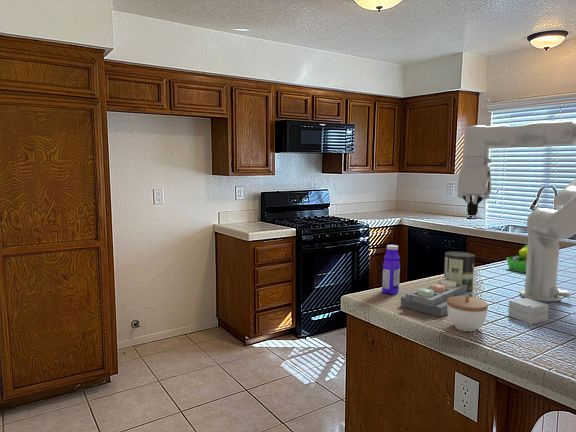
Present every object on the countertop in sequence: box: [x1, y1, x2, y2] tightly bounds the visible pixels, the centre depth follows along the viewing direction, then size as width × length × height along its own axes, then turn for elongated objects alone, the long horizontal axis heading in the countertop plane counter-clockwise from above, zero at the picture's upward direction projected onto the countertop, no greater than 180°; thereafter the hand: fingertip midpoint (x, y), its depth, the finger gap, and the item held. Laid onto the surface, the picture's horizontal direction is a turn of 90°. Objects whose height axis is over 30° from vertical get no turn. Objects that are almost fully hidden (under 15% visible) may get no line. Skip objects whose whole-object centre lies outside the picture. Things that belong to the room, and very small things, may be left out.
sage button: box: [416, 287, 434, 298], centre depth 136 cm, size 5×5×3 cm
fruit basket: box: [505, 244, 528, 273], centre depth 190 cm, size 11×9×11 cm
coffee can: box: [443, 250, 476, 294], centre depth 157 cm, size 10×10×14 cm
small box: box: [507, 297, 550, 325], centre depth 129 cm, size 8×8×5 cm
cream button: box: [440, 279, 456, 288], centre depth 147 cm, size 5×5×3 cm
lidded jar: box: [447, 296, 489, 332], centre depth 121 cm, size 11×11×9 cm
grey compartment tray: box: [400, 280, 473, 318], centre depth 142 cm, size 14×25×5 cm, turn 134°
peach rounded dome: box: [429, 283, 445, 293], centre depth 142 cm, size 5×5×3 cm
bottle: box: [381, 244, 401, 295], centre depth 154 cm, size 7×6×17 cm
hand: (472, 215), depth 148 cm, fingers closed
